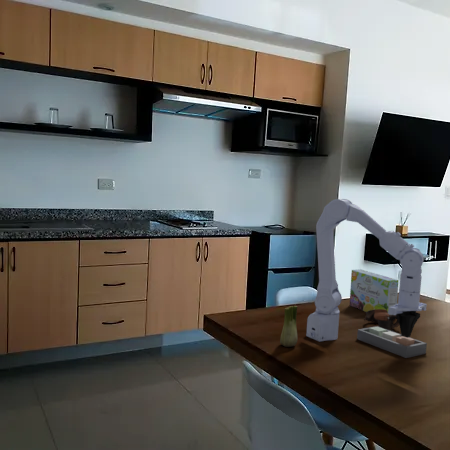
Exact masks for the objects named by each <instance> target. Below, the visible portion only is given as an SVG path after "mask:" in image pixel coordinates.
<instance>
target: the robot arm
mask: <svg viewBox="0 0 450 450" xmlns="http://www.w3.org/2000/svg"><path fill="white" fill-rule="evenodd" d="M343 221H347V222H352V223H353V222H354V223H358V224H359V225H360V226H361V227H363V228H364V229H365V230H367V231H368V232H369V233H371V235H373V236H375V237H376V238H377V239H378V240H379V246H380V247H381V248H382V249H384V250H385V251H386V252H387V253H389V255H390V256H392V257H393V258H395V259H396V260H398V261H399V263H400V265H401V272H400V276H399V278H400V279H399V285H398V297H397V304H396V305H394V306H392V307H389V314H392V315H396V317H397V319H398V322H399V330H400V334H401V336H404V337H407V338H408V337H410V338H411V336H412V333H413V330H414V328H415V326H416V323H418V321H419V319H420V318H421V313H419V312H422V311H427V303H423V302H420V297H421V288H422V270H423V269H422V265H423V263H424V260H425V259H424V254H423V252H421V250H420V249H419V248H417V247H415V245H414V244H413V243H409V242H408V241H406V240H405V239H404V238H403V237H401V236H402V234H401V233H400V232H399V231H397V232H396V231H394V230H386V229H385V227H383V226H382V225H381V224H380V223H378V222H377V221H376V220H375V219H374V218H373V217H371V216H370V215H369V214H368V213H367V212H366V211H365V210H364V209H362V208H361V207H360V206H358V205H357V204H354V203H353V202H352V201H351V200H349V199H347V198H340V199H339V198H338V199H337V198H335V199H332V200H331V201H330V202H328V203H326V205H324V207H323V211H322V213H321V215H320V217H319V218H318V220H317V222H316V226H315V228H316V245H317V246H316V247H317V250H316V251H317V262H318V263H317V264H318V285H317V288H316V296H315V299H314V305H315V311H314V312H313V313H310V314H309V315H308V317H307V321H306V334H305V335H306V337H308V338H309V339H313V340H314V341H317V342H324V341H334V340H338V337H339V323H340V309H339V307H338V306H340V304H341V303H342V301H343V299H342V298H343V297H342V294H341V292H340V290H339V284H338V282H337V280H336V279H337V278H336V261H335V260H336V258H335V244H334V243H335V241H334V229H336V228H337V227H338V225H340V224H341V222H343ZM397 319H396V320H397Z"/></svg>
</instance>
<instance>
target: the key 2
mask: <svg viewBox="0 0 450 450" xmlns="http://www.w3.org/2000/svg"><path fill="white" fill-rule="evenodd" d="M414 341H415V338H413V339H412V337H410V338H409V337H408V338H407V337H404V336H401V337H396V342H397V343H399V344H402V345H405V346H408V345H413V344H414Z"/></svg>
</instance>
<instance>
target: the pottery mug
mask: <svg viewBox="0 0 450 450" xmlns="http://www.w3.org/2000/svg"><path fill="white" fill-rule="evenodd" d="M388 317H389V319H388ZM363 320H364V321H368V322H373V323H376V324H378V325H374V326H372V327H376V326H378V327H381V328H384V329H387V330H390V331H394V329H395V328H398V327H400V325H399V322H398V319H397V317H396V315H389V314H388V311H387V310H384V309H376V310H370V311H367V312H365V317H364V319H363ZM395 320H396V321H395ZM394 321H395V323H394Z"/></svg>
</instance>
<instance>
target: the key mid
mask: <svg viewBox="0 0 450 450" xmlns="http://www.w3.org/2000/svg"><path fill="white" fill-rule="evenodd" d="M391 331H392V330H390V331H388V332H383V333H382V337H383V338H386V339H388V340H391V341H394V342H396V337H400V334H401V333H398V332H395V331H393V332H391ZM394 332H395V333H394ZM397 333H398V334H397Z"/></svg>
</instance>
